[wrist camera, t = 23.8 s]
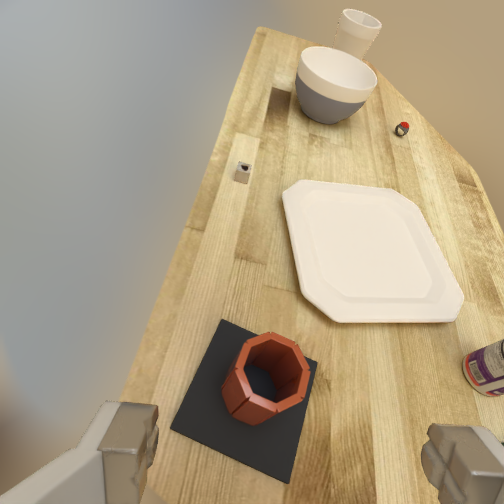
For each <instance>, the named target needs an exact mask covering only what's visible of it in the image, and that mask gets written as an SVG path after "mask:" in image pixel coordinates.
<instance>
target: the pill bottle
mask: <svg viewBox="0 0 504 504" xmlns="http://www.w3.org/2000/svg"><path fill="white" fill-rule="evenodd" d="M463 371H464V374H465V376H466V378H467V380H468V381H469V383H470V384H471V385H472V386H473V387H474V388H475V389H476V390H477V391H479V392H480V393H482V394H484V395H486V396H492V397H493V396H499V395H503V394H504V339H503V340H501V341H498V342H496V343H493V344H491V345H489V346H486V347H484V348H481V349H479V350H477V351H474V352H472V353H470V354H468V355H466V356H465V358H464V360H463Z"/></svg>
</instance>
